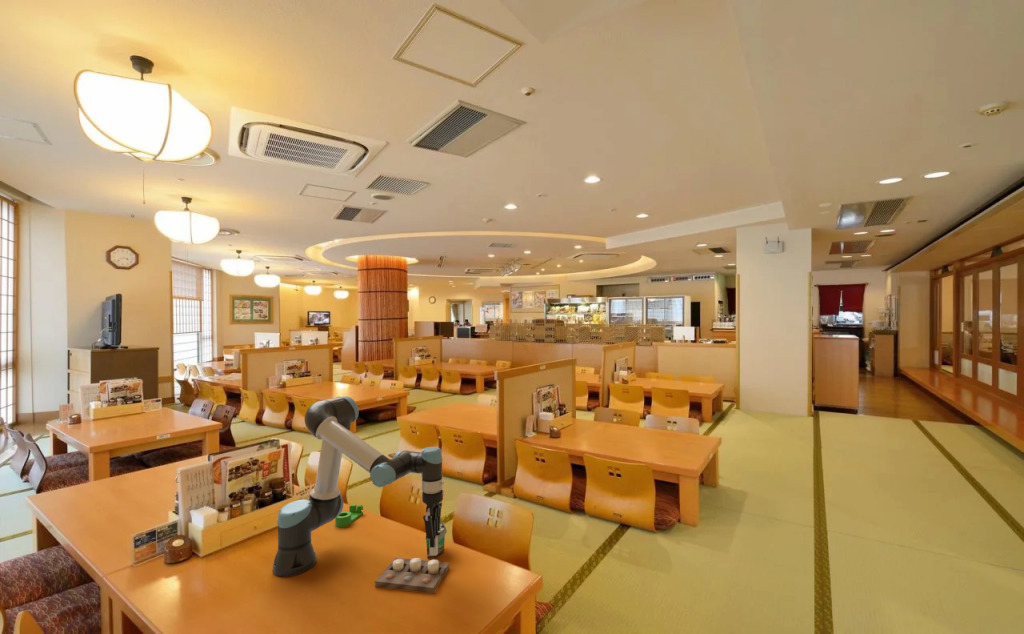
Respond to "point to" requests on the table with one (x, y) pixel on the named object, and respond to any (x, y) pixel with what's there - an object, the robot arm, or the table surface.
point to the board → (412, 578)
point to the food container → (440, 542)
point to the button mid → (415, 565)
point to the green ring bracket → (348, 516)
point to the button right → (433, 567)
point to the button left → (398, 565)
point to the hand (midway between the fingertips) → (433, 554)
